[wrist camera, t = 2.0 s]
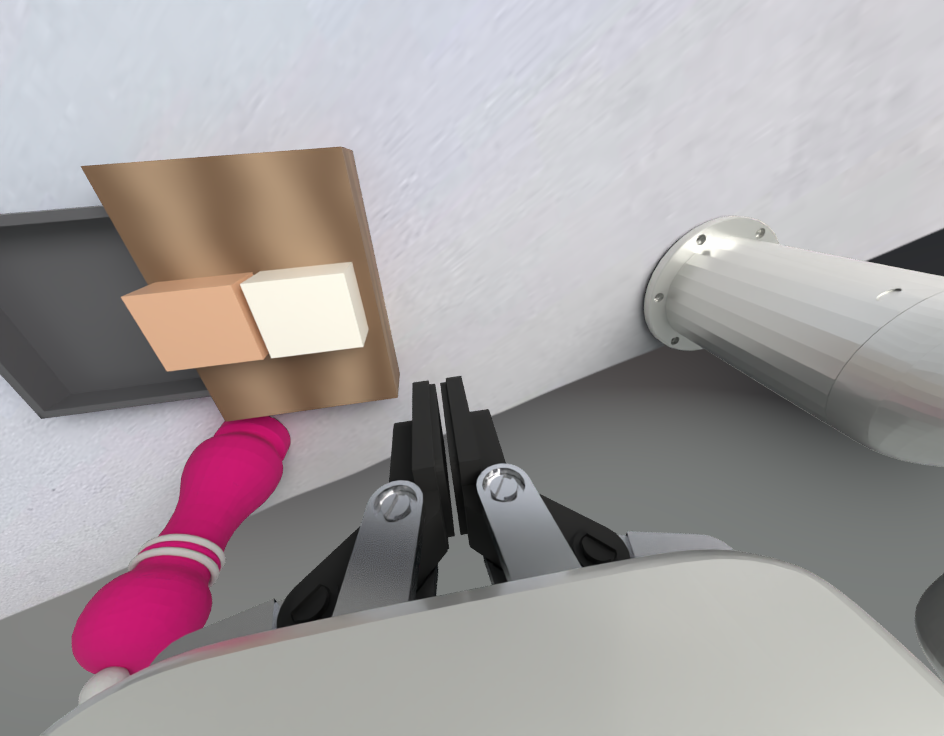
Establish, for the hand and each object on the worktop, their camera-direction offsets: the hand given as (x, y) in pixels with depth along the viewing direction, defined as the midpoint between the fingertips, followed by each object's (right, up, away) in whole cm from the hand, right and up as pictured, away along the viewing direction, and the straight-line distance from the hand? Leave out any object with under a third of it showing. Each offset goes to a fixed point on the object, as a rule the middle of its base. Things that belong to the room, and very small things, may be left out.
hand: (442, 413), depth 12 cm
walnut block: (-13, +8, +15) cm, 22 cm away
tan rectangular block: (-16, +5, +12) cm, 21 cm away
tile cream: (-10, +6, +12) cm, 17 cm away
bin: (-27, +6, +14) cm, 31 cm away
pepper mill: (-20, -5, +22) cm, 30 cm away
